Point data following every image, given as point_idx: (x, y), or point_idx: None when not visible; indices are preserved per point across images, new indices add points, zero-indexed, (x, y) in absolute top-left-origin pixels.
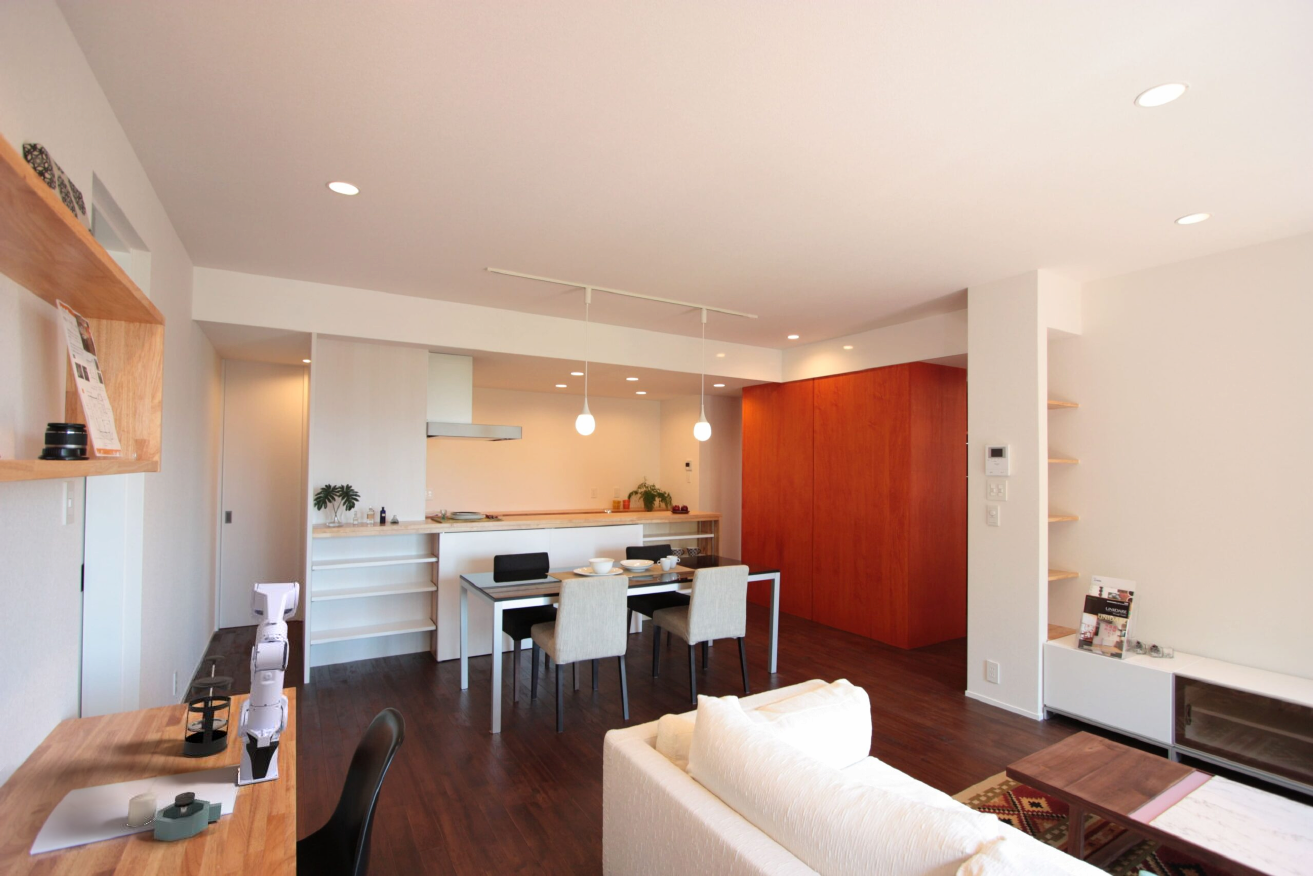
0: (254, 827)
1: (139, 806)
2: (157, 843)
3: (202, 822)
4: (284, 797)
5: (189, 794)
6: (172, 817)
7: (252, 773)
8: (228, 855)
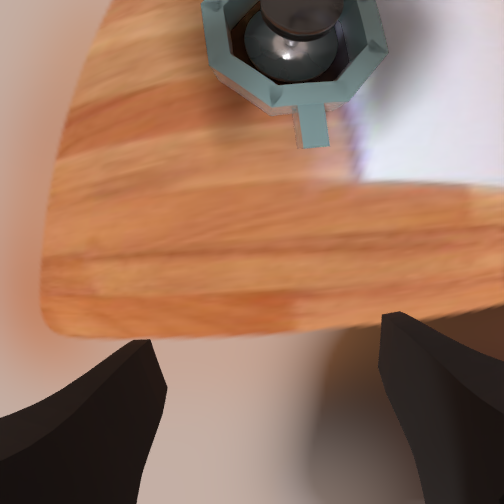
0: (223, 260)
1: None
2: None
3: (251, 98)
4: None
5: (315, 9)
6: None
7: (107, 358)
8: (82, 215)
